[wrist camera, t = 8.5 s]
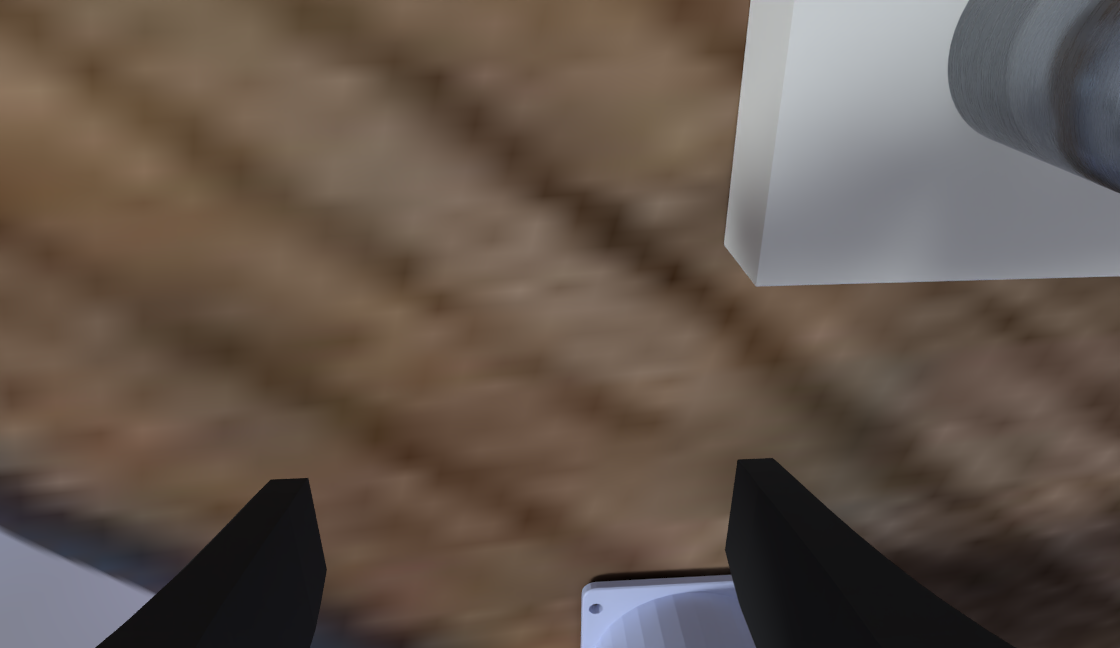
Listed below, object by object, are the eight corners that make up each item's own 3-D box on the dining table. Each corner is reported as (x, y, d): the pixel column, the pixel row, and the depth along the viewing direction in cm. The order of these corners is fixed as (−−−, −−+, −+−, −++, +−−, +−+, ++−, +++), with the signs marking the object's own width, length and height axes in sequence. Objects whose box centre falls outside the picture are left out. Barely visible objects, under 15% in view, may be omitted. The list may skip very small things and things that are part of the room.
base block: (1115, 235, 22) (1201, 273, 19) (723, 244, 21) (755, 286, 18) (1303, -270, 16) (1462, -316, 13) (781, -281, 15) (839, -331, 13)
